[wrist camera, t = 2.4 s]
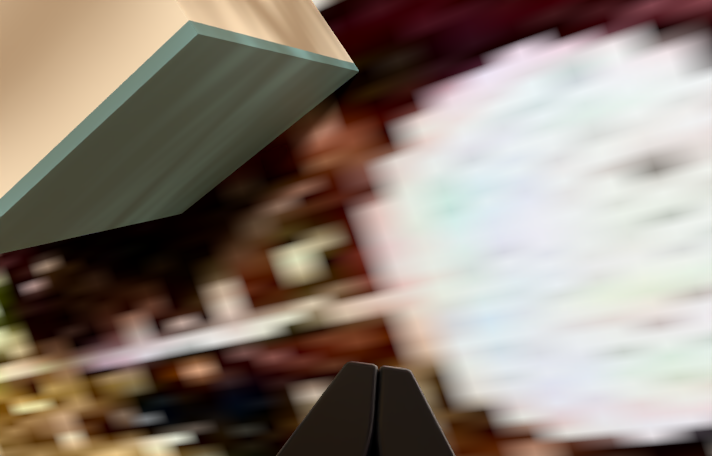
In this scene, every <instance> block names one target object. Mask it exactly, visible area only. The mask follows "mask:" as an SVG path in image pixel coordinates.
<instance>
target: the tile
mask: <svg viewBox="0 0 712 456" xmlns="http://www.w3.org/2000/svg"><path fill="white" fill-rule="evenodd" d="M358 72H359V70H358V69H357V67H356V66H355V64H354V63H353V61H352V60H351V58H350V57H349V55H348V54H347V52H346V51H345V49H344V48H343V46H342V45H341V43H340V42H339V40H338V39H337V37H336V36H335V35H334V33H333V32H332V30H331V29H330V27H329V26H328V24H327V23H326V21H325V20H324V18H323V17H322V15H321V14H320V12H319V11H318V9H317V8H316V6H315V5H314V3H313V2H312V0H0V254H1V253H5V252H10V251H14V250H19V249H23V248H28V247H32V246H37V245H42V244H46V243H51V242H55V241H60V240H64V239H69V238H73V237H78V236H83V235H87V234H92V233H96V232H101V231H105V230H110V229H114V228H119V227H123V226H128V225H133V224H137V223H142V222H146V221H151V220H155V219H160V218H164V217H169V216H173V215H178V214H182V213H183V212H184V211H186V210H187V209H188V208H189V207H191V206H192V205H193V204H194V203H196V202H197V201H198V200H199V199H201V198H202V197H203V196H204V195H206V194H207V193H208V192H209V191H211V190H212V189H213V188H214V187H216V186H217V185H218V184H219V183H221V182H222V181H223V180H224V179H226V178H227V177H228V176H229V175H231V174H232V173H233V172H234V171H236V170H237V169H238V168H239V167H241V166H242V165H243V164H244V163H246V162H247V161H248V160H249V159H251V158H252V157H253V156H254V155H256V154H257V153H258V152H259V151H261V150H262V149H263V148H264V147H265V146H267V145H268V144H269V143H270V142H272V141H273V140H274V139H275V138H277V137H278V136H279V135H280V134H282V133H283V132H284V131H285V130H287V129H288V128H289V127H290V126H292V125H293V124H294V123H295V122H297V121H298V120H299V119H300V118H302V117H303V116H304V115H305V114H307V113H308V112H309V111H310V110H312V109H313V108H314V107H315V106H317V105H318V104H319V103H320V102H322V101H323V100H324V99H325V98H327V97H328V96H329V95H330V94H332V93H333V92H334V91H335V90H337V89H338V88H339V87H340V86H342V85H343V84H344V83H345V82H347V81H348V80H349V79H350V78H352V77H353V76H354V75H355V74H357V73H358Z"/></svg>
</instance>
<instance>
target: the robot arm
mask: <svg viewBox="0 0 712 456" xmlns="http://www.w3.org/2000/svg"><path fill="white" fill-rule="evenodd" d="M276 456H455V454H454V452H453V450H452V448H451V447H450V445H449V443H448V441H447V439H446V437H445V435H444V433H443V431H442V429H441V427H440V425H439V423H438V421H437V420H436V418H435V416H434V414H433V412H432V410H431V408H430V406H429V404H428V402H427V400H426V398H425V396H424V394H423V393H422V391H421V389H420V387H419V385H418V383H417V381H416V379H415V377H414V375H413V374H412V372H411V371H410V370H409V369H406V368H399V367H391V366H382V367H380V369H379V371H378V368H377V366H376V365H374V364H369V363H361V362H354V361H350V362H347V363H346V364H345V365H344V366H343V368H342V369H341V370H340V372H339V373H338V374H337V376H336V377H335V378H334V380H333V381H332V382H331V384H330V385H329V386H328V388H327V389H326V390H325V392H324V393H323V394H322V396H321V397H320V398H319V400H318V401H317V402H316V404H315V405H314V406H313V408H312V409H311V410H310V412H309V413H308V414H307V416H306V417H305V418H304V420H303V421H302V422H301V424H300V425H299V426H298V428H297V429H296V430H295V432H294V433H293V434H292V435H291V437H290V438H289V439H288V441H287V442H286V443H285V445H284V446H283V447H282V449H281V450H280V451H279V453H278V454H277V455H276Z"/></svg>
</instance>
